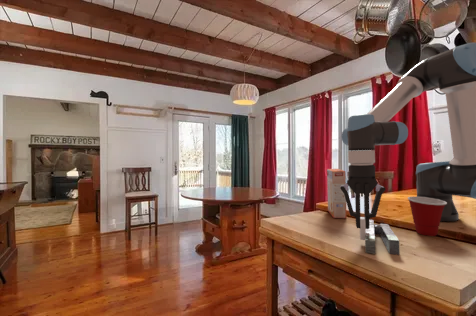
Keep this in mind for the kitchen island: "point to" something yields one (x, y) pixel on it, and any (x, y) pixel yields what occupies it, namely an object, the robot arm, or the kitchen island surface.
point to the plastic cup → (426, 214)
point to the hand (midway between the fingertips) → (362, 238)
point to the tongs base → (388, 238)
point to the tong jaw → (370, 238)
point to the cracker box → (336, 193)
